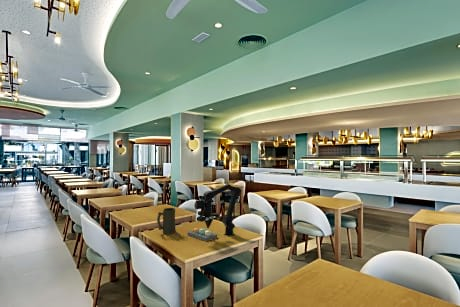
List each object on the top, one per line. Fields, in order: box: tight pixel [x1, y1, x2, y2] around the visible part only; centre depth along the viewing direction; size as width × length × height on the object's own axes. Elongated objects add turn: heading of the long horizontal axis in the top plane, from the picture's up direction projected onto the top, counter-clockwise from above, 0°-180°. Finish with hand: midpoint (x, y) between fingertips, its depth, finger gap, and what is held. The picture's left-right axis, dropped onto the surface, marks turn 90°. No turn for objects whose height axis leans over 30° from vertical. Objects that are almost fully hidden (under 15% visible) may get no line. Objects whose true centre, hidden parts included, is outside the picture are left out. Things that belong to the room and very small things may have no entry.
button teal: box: [199, 228, 206, 235], centre depth 199 cm, size 5×5×4 cm
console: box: [187, 229, 218, 242], centre depth 198 cm, size 12×22×2 cm, turn 47°
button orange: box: [193, 227, 201, 233], centre depth 203 cm, size 5×5×4 cm
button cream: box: [205, 229, 212, 237], centre depth 194 cm, size 5×5×4 cm
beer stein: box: [156, 207, 177, 235], centre depth 208 cm, size 15×11×20 cm
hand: (208, 228), depth 194 cm, fingers closed
